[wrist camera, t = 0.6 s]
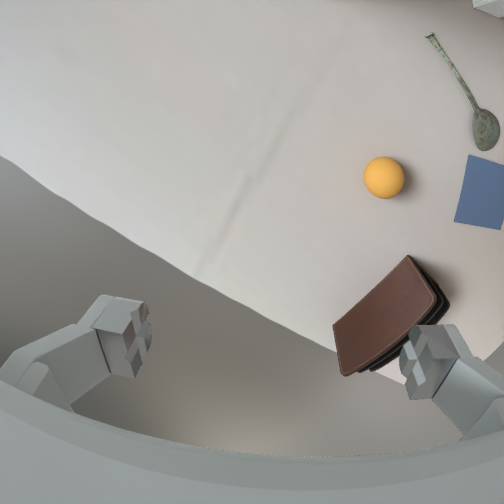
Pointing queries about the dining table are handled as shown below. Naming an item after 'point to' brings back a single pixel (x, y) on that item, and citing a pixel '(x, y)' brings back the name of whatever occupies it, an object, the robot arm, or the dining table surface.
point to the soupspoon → (483, 120)
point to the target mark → (482, 194)
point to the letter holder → (387, 318)
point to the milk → (490, 7)
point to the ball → (384, 177)
